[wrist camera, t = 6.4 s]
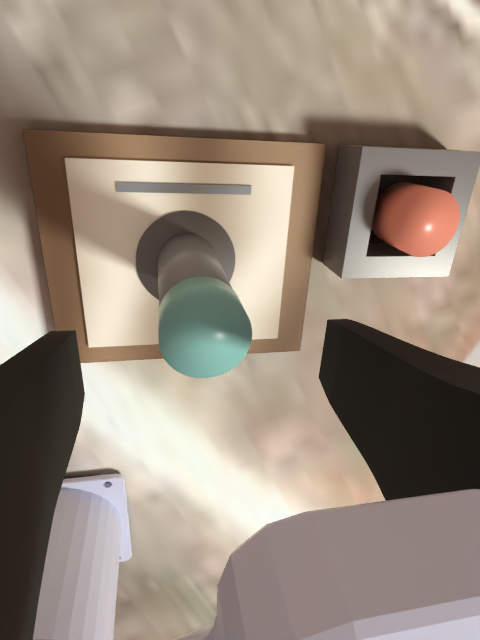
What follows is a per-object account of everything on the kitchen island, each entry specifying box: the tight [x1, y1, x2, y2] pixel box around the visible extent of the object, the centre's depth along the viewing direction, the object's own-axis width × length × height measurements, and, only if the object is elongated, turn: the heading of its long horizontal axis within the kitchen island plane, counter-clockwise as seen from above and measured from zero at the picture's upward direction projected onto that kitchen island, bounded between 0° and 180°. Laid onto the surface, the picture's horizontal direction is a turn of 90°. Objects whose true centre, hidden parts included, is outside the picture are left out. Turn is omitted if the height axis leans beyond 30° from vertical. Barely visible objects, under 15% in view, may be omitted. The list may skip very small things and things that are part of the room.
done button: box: [372, 182, 460, 257], centre depth 19 cm, size 3×3×2 cm
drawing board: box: [23, 129, 326, 363], centre depth 20 cm, size 13×11×1 cm
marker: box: [158, 233, 252, 378], centre depth 16 cm, size 3×3×8 cm
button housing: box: [323, 144, 480, 278], centre depth 20 cm, size 6×6×2 cm
